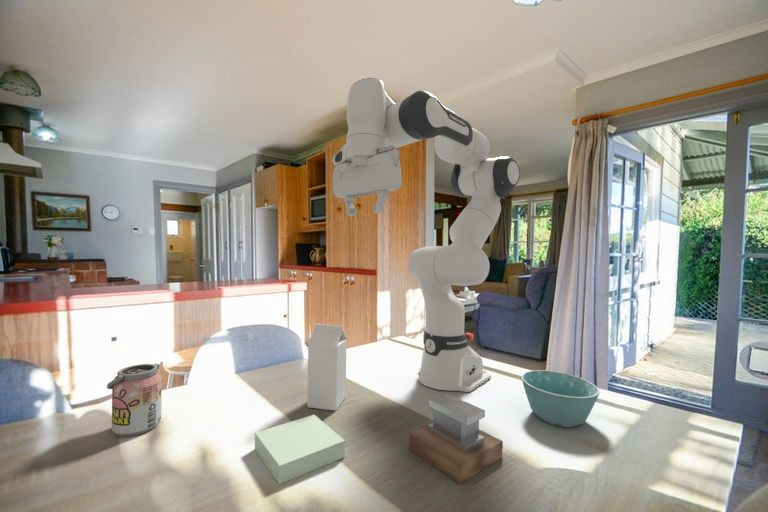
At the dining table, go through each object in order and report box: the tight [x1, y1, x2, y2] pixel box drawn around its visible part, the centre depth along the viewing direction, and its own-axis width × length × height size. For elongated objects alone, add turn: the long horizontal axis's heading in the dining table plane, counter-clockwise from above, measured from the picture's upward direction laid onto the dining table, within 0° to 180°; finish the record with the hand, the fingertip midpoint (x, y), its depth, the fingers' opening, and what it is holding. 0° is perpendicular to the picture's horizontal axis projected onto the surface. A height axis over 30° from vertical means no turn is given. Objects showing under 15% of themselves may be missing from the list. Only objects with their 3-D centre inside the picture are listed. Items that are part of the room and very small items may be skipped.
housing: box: [427, 393, 486, 454], centre depth 63 cm, size 5×9×6 cm, turn 38°
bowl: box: [521, 369, 600, 428], centre depth 77 cm, size 16×16×8 cm
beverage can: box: [106, 363, 163, 438], centre depth 69 cm, size 9×8×12 cm
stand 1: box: [254, 414, 346, 485], centre depth 62 cm, size 12×12×3 cm
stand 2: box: [408, 425, 504, 485], centre depth 63 cm, size 12×12×3 cm
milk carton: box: [306, 323, 348, 411], centre depth 82 cm, size 7×7×19 cm
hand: (364, 214), depth 77 cm, fingers open, 8 cm apart
